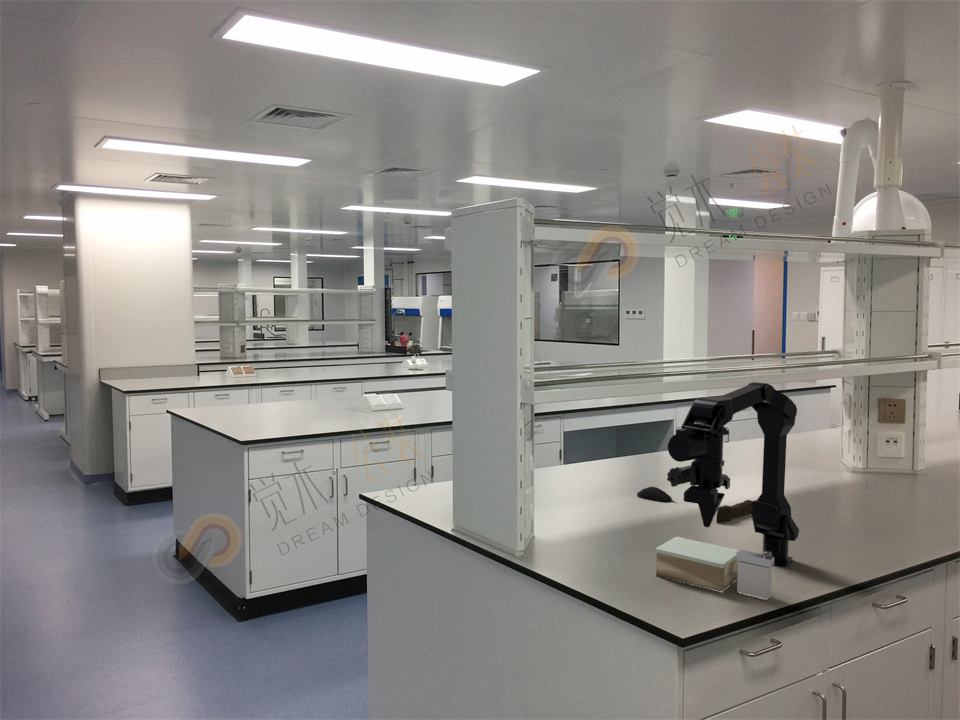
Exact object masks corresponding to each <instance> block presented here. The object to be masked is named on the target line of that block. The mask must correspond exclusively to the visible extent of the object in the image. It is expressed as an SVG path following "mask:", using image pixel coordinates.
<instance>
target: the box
mask: <svg viewBox="0 0 960 720" xmlns="http://www.w3.org/2000/svg"><path fill="white" fill-rule="evenodd" d="M738 561H739V560H736V559H735V560H733V561H732V562H731V563H729V564H728V565H727V566H725V567H724V568H720V567H716V566H711V565H707V564H703V563H699V562H695V561H691V560H686V559H682V558H678V557H674V556H670V555H665V554H661V553H657V552H656V565H655V566H656V568H655V569H656V570H655V572H656V573H655V575H656V577H658V576H660V577H659V578H662V577H664V578H663V579H666V578H668V579H667V580H670V579H673V580H677V581H681V582H685V583H689V584H693V585H697V586H701V587H706V588H710V589H714V590H718V591H723V590H724V589H726V588H727V587H728V586H729V585H731V584H732V583H733V582H734V581H735V580H737V579H738ZM673 580H672V581H673ZM677 581H676V582H677ZM681 582H680V583H681ZM685 583H684V584H685ZM689 584H688V585H689ZM732 585H733V584H732ZM732 585H731V586H732ZM726 590H727V589H726Z"/></svg>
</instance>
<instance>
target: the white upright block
mask: <svg viewBox="0 0 960 720" xmlns="http://www.w3.org/2000/svg"><path fill="white" fill-rule="evenodd" d="M772 567H773V566H772ZM772 567H771V568H769V567H765V566H761V565H756V564H752V563H748V562H743V561H738V579H737V581H736V583H737V584H736V585H737V587H736V588H737V589H736V593H737V592H741V593H745V594H750V595H754V596H758V597H762V598H765V599H766V598H768V597H769V596H770V595H772V593H771V592H772V570H773V569H772Z"/></svg>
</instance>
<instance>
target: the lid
mask: <svg viewBox="0 0 960 720" xmlns="http://www.w3.org/2000/svg"><path fill="white" fill-rule="evenodd" d="M739 550H740V549H737V548H736V549H734V548H730V547H726V546H721V545H716V544H714V543H713V544H712V543H708V542H704V541H698V540H694V539H689V538H685V537H681V536H674V537H673V538H672V539H669V540H668V541H666V542H664V543H663V544H661V545H659V546H657V547H656V548H655V549H654V551H655V553H656V554H657V553H661V554H665V555H670V556H674V557H678V558H682V559H686V560H691V561H695V562H699V563H703V564H707V565H711V566H716V567H720V568H724V567H725V566H727V565H728V564H729V563H731V562H732V561H733V560H735V559H736V552H738V551H739Z"/></svg>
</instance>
